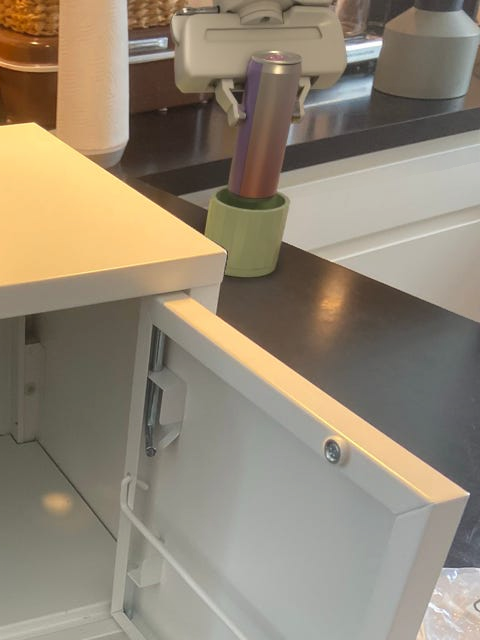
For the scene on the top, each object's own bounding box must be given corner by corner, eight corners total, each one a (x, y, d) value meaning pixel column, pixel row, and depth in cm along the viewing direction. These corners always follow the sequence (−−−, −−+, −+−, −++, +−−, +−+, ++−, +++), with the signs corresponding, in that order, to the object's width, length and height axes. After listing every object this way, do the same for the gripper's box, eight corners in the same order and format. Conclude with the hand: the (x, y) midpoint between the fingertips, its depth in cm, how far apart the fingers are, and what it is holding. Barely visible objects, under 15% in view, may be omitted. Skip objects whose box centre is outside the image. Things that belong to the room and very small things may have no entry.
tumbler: (268, 249, 126) (281, 186, 120) (282, 278, 119) (297, 212, 113) (196, 247, 126) (206, 184, 120) (206, 276, 119) (217, 210, 113)
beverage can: (216, 195, 116) (240, 55, 106) (242, 184, 120) (267, 47, 109) (258, 207, 114) (286, 64, 103) (284, 195, 117) (314, 56, 107)
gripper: (176, -12, 106) (191, 109, 106) (345, -14, 109) (361, 103, 109) (159, 26, 112) (173, 140, 112) (319, 23, 115) (334, 134, 115)
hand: (267, 122), depth 111 cm, fingers closed on beverage can, 6 cm apart
